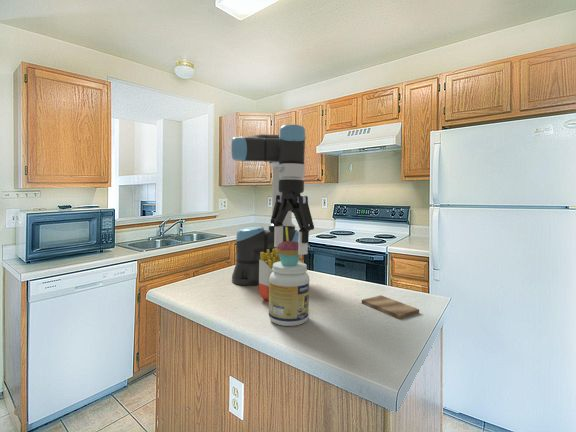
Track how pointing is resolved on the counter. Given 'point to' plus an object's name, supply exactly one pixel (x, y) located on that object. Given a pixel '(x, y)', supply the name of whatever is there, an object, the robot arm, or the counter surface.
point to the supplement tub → (289, 294)
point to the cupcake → (288, 252)
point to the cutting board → (390, 306)
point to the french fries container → (266, 271)
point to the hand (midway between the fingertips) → (289, 250)
